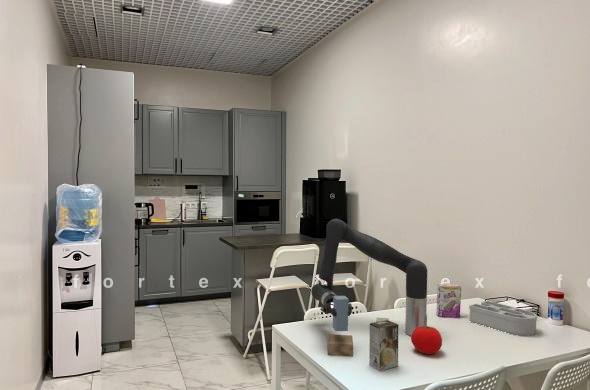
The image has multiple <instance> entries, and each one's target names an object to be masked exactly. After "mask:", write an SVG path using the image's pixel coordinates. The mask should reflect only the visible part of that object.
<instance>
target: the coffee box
mask: <svg viewBox="0 0 590 390" xmlns="http://www.w3.org/2000/svg"><path fill="white" fill-rule="evenodd" d="M368 353H369V357H368V358H369V360H368V362H369V366H371V367H372V368H375V369H376V370H377V371H379V372H380V371H384V370H387V369H392V368H395V367H398V366H399V324H398V323H395V322H394V321H391V320H390V319H389V320H385V321H380V322H376V321H375V322H370V323H369V352H368Z"/></svg>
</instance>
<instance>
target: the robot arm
mask: <svg viewBox="0 0 590 390" xmlns="http://www.w3.org/2000/svg"><path fill="white" fill-rule="evenodd" d="M325 232H326V233H325V234H326V236H325V244H324V250H323V255H322V260H321V265H320V268H319V273H318V278H319V279H320V280H323V281H324V282H325V283H326V285H325V284H323V283H322V284H321V283H316V284H314V285H312V287H311V290H310V292H311V295H312V296H311V297H312V298H313V299H314V300H316V301H318V302H320V303H321V304H320V311H321V312H323V313H325V314H326V315H329V314H330V315H332V317H333V316H334V317H336V316H337V312H336V310H335V309H333V296H338V295H337V294H336V293H334V275H335V271H336V266H337V259H338V258H337V256H338V249H339V246H340V241H343V242H346V243H348V244H349V245H351V246H352V247H354V248H355V249H357V250H359V251H360V252H361V253H362V254H364V255H366V256H367V257H369V258H370V259H372V260H375V261H377V262H378V263H382V264H385V265H388V266H392V267H395V268H396V269H398V270H400V271H401V272H403V273H405V277H406V278H405V319H404V320H405V321H404V322H405V324H404V325H405V332H404V333H405V334H406V335H408V336H410V337H411V335H412V333H413V331H414V330H415V329H416V328H418V327H420V326H428V314H427V304H428V299H427V298H428V268H427V265H426V263H424V262H422V261H421V260H419V259H415V258H414V257H410V256H409V255H406V254H404V253H402V252H400V251H399V250H398V249H396V248H394V247H392V246H390V245H389V244H387V243H385V242H383V241H381V240H380V239H377V238H376V237H373V236H371V235H369V234H367V233H364V232H360V231H359V230H357V229H355V227H354V228H353V227H352V226H350V225H349V224H347V223H346V222H345V221H343V220H341V219H340V218H332V219H331V220H329V221H328V222H327V224H326V231H325ZM352 313H353V306H352V303H351V302H349V304H348V317H350V316H351V314H352Z"/></svg>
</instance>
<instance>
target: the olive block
mask: <svg viewBox="0 0 590 390" xmlns="http://www.w3.org/2000/svg"><path fill="white" fill-rule="evenodd" d="M385 320H389V321H390V318H387V317H376V321H375V322H380V321H385Z"/></svg>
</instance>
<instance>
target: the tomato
mask: <svg viewBox="0 0 590 390" xmlns="http://www.w3.org/2000/svg"><path fill="white" fill-rule="evenodd" d="M410 341H411V343H412V346H413V347H414V348H415V350H417V351H418V352H420V353H421V354H425V355H426V354H427V355H432V354H436V353H437V352H439V351H440V350H441V348H442V346H443V337H442V334H441V332H440V331H439V330H438V329H437V328H435V327H432V326H428V325H427V326H420V327H418V328H416V329H415V330H414V331H413V333H412V335H411V336H410Z"/></svg>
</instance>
